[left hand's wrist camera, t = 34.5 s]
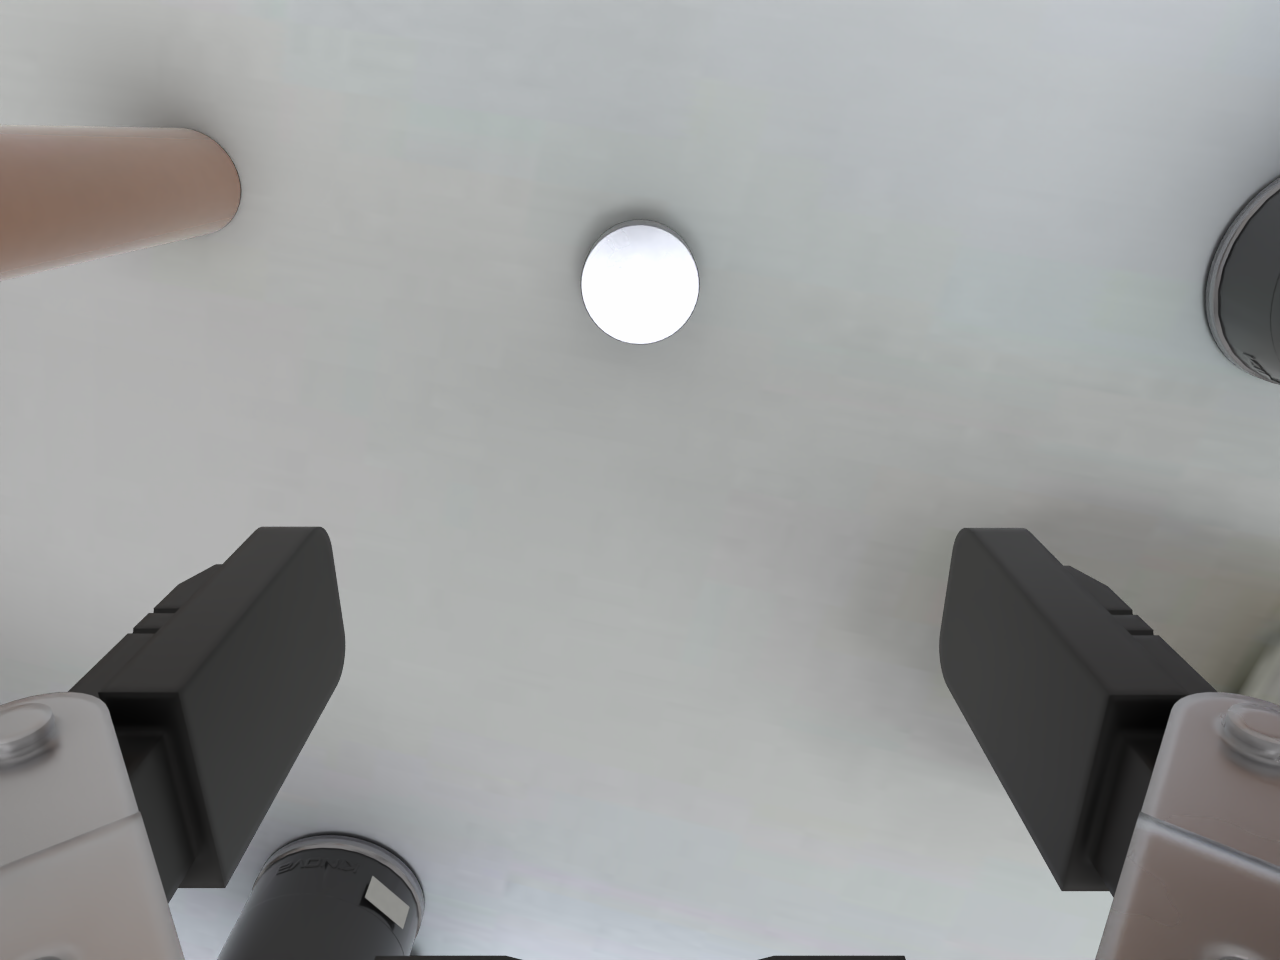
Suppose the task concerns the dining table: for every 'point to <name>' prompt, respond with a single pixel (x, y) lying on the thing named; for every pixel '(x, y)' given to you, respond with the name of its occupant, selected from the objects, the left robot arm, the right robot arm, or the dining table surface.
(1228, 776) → the left robot arm
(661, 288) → the lid
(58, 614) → the dining table surface
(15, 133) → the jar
